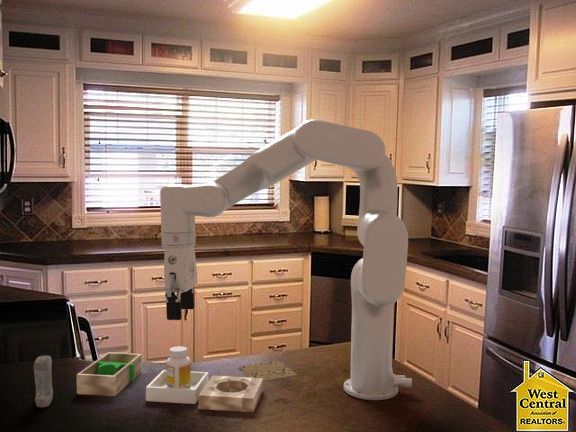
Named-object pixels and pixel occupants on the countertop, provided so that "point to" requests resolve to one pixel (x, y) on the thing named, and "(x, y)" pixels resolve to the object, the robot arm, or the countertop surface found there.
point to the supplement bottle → (178, 368)
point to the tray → (176, 389)
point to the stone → (43, 381)
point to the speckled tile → (268, 371)
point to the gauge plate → (231, 393)
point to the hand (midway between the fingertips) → (181, 314)
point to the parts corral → (107, 383)
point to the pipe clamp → (114, 368)
